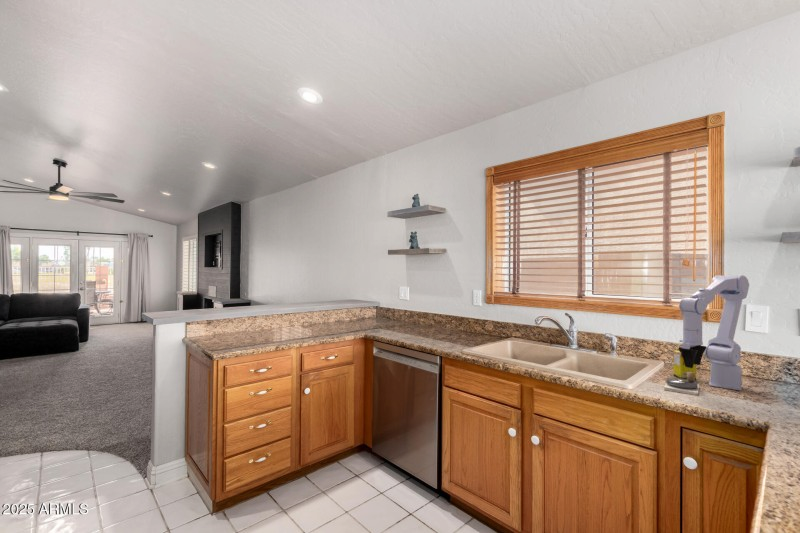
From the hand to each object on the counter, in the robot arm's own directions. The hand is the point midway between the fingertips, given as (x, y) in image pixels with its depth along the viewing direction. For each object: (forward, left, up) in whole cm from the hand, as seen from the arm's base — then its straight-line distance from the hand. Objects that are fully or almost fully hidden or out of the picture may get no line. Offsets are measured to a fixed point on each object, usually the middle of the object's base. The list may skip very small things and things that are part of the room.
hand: (692, 365), depth 141 cm
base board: (+3, -1, -9) cm, 10 cm away
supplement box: (+3, -20, -10) cm, 23 cm away
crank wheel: (+3, -1, -8) cm, 9 cm away
